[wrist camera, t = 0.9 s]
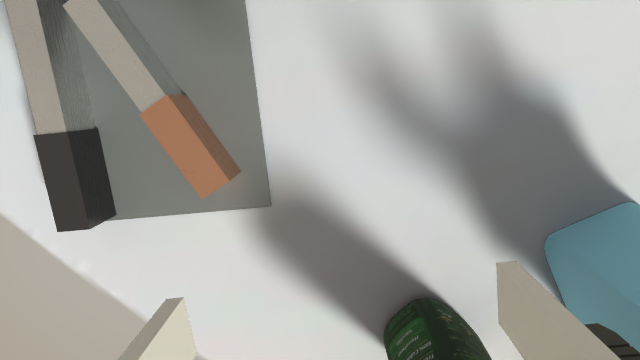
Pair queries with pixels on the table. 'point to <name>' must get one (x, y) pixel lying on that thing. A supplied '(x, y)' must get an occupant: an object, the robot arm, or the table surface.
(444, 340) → the coffee jar
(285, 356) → the table surface
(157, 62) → the tongs arm
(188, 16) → the mat
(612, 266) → the vase
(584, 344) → the robot arm
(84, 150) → the tongs fixed
